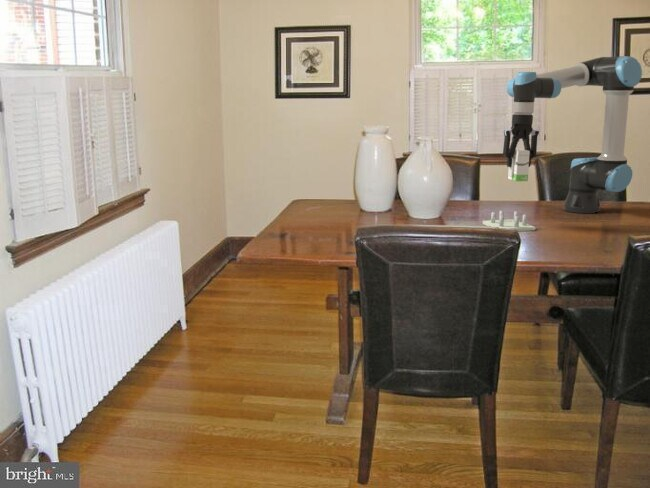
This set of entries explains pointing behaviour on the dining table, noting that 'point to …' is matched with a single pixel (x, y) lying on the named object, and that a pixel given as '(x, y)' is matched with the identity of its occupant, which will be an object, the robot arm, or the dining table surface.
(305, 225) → the dining table surface
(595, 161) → the robot arm
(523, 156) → the ink box
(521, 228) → the pin tray
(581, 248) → the dining table surface
